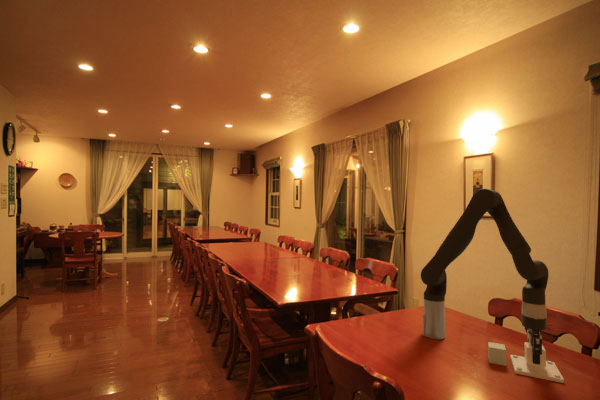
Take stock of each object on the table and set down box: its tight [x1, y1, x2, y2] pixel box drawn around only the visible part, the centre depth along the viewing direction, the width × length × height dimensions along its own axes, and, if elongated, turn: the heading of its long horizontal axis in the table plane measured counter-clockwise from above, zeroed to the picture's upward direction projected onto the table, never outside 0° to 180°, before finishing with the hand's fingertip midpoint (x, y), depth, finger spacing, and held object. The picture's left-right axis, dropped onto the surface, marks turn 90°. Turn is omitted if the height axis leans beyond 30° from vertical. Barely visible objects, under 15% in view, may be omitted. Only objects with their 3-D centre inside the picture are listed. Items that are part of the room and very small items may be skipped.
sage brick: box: [487, 341, 507, 367], centre depth 125 cm, size 6×6×6 cm
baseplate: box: [509, 354, 565, 384], centre depth 119 cm, size 14×14×2 cm
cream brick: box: [523, 341, 547, 367], centre depth 119 cm, size 6×6×6 cm
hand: (534, 360), depth 119 cm, fingers closed on cream brick, 5 cm apart
